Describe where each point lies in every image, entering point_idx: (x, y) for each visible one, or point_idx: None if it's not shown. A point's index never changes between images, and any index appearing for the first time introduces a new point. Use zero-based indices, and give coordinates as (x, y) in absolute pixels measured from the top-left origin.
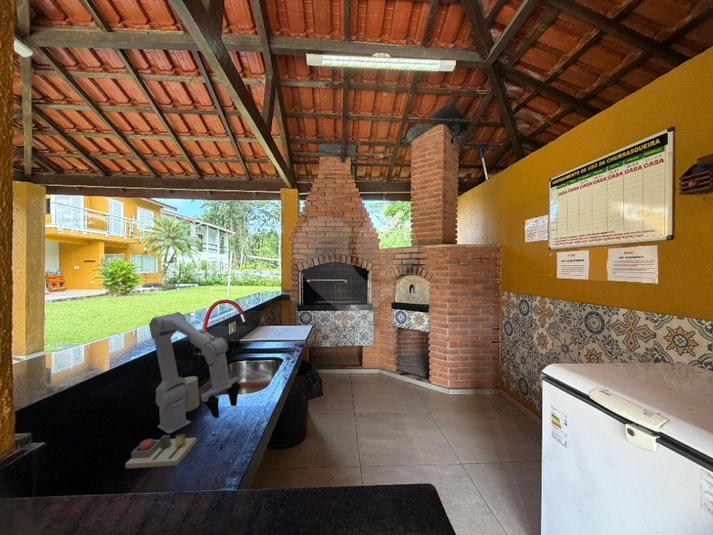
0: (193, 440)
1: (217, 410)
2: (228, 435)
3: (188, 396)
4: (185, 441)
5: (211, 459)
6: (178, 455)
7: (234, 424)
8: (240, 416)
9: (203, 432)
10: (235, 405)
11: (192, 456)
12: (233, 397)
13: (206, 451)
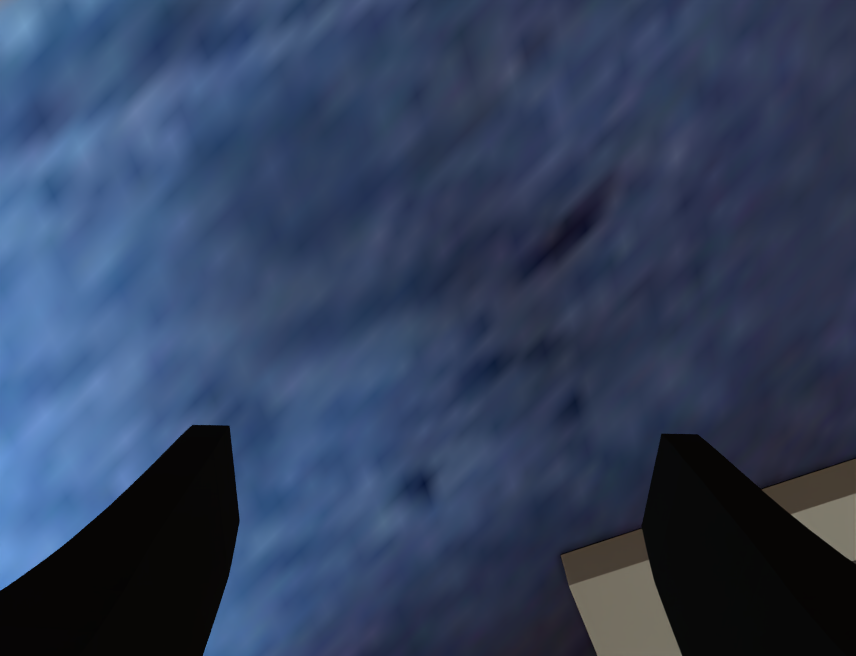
0: (615, 575)
1: (764, 520)
2: (374, 322)
3: None
4: (648, 631)
5: (769, 178)
6: (846, 520)
7: (185, 415)
8: (33, 466)
9: (422, 610)
10: (217, 430)
11: (758, 414)
12: (166, 592)
13: (666, 340)
